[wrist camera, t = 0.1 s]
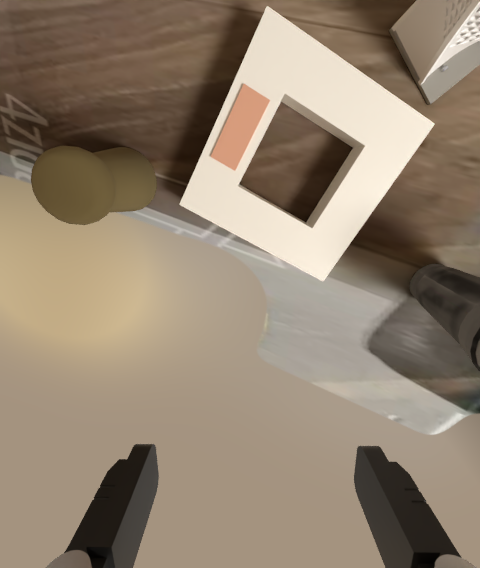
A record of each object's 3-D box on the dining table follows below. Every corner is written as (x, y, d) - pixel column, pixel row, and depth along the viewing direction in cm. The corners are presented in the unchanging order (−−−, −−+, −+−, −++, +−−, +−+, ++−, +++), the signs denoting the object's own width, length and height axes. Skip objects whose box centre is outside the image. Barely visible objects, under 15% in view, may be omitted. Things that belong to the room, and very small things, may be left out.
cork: (95, 203, 29) (15, 223, 19) (97, 139, 27) (8, 124, 17) (153, 217, 30) (106, 244, 20) (160, 155, 28) (110, 150, 17)
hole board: (264, 24, 24) (267, 4, 21) (414, 128, 26) (436, 123, 23) (185, 200, 29) (178, 204, 26) (316, 271, 32) (323, 282, 29)
